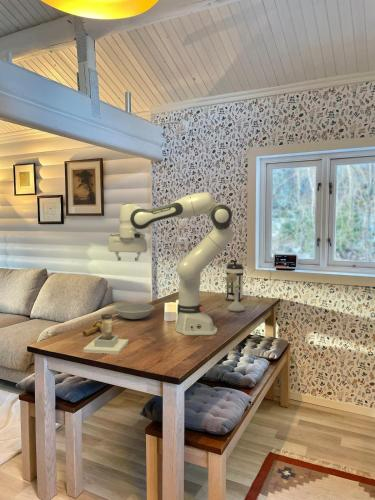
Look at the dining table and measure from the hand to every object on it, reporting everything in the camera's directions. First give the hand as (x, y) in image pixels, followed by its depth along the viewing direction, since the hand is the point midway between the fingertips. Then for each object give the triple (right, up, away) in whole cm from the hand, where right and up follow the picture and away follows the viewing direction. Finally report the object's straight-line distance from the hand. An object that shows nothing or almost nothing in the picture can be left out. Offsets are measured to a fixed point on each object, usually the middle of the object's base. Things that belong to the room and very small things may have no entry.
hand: (127, 260), depth 196 cm
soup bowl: (-1, -35, +28) cm, 45 cm away
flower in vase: (+62, -35, +50) cm, 87 cm away
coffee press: (+66, -32, +82) cm, 110 cm away
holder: (-6, -39, -25) cm, 46 cm away
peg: (-6, -38, -25) cm, 45 cm away
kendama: (-15, -38, -1) cm, 41 cm away
